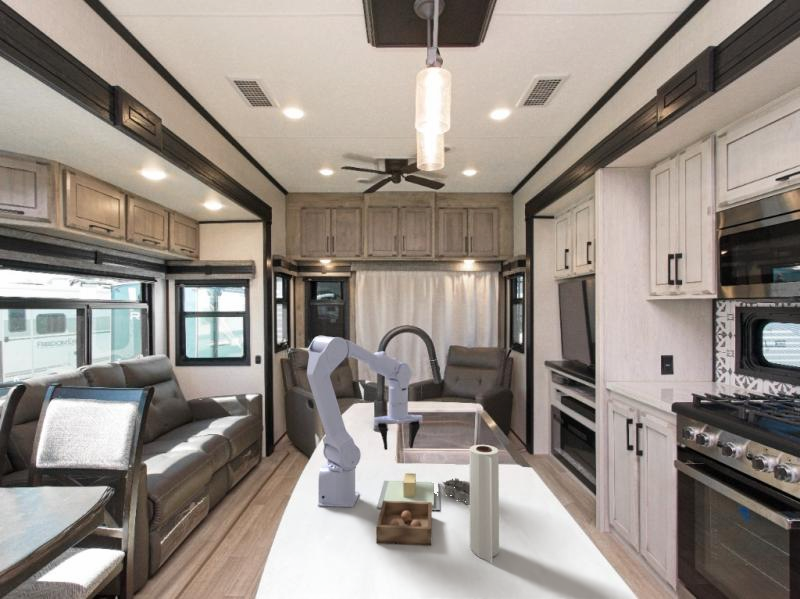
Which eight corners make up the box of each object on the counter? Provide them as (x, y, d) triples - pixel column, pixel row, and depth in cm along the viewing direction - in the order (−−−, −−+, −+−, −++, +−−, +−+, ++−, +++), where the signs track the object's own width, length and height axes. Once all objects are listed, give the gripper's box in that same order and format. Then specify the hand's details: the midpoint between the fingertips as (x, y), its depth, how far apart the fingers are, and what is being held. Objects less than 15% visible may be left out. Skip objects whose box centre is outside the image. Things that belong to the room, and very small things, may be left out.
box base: (376, 543, 89) (376, 526, 89) (383, 515, 101) (383, 500, 101) (431, 545, 88) (431, 529, 88) (431, 517, 100) (431, 502, 100)
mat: (376, 508, 104) (376, 507, 104) (384, 482, 120) (384, 480, 120) (439, 511, 103) (439, 509, 103) (438, 483, 119) (438, 482, 119)
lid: (383, 505, 105) (382, 487, 105) (388, 483, 118) (388, 467, 118) (433, 507, 104) (433, 489, 104) (433, 485, 117) (433, 469, 117)
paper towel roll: (475, 538, 91) (475, 441, 91) (502, 546, 88) (502, 446, 88) (463, 555, 84) (463, 451, 85) (492, 565, 81) (491, 457, 82)
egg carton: (488, 500, 109) (488, 484, 109) (470, 509, 104) (470, 493, 104) (458, 486, 117) (458, 472, 117) (440, 494, 112) (440, 479, 112)
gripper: (375, 406, 117) (375, 454, 117) (424, 404, 119) (425, 450, 119) (372, 400, 124) (373, 445, 123) (419, 398, 126) (419, 442, 126)
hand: (398, 447), depth 122 cm, fingers open, 7 cm apart
